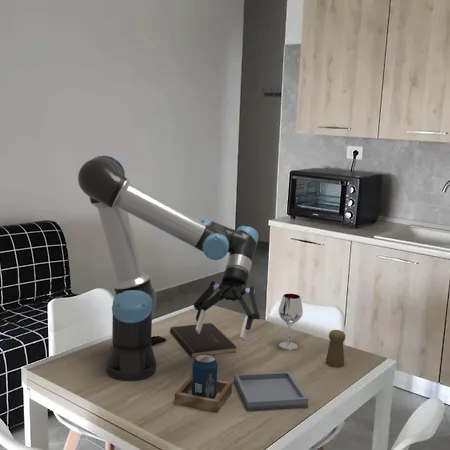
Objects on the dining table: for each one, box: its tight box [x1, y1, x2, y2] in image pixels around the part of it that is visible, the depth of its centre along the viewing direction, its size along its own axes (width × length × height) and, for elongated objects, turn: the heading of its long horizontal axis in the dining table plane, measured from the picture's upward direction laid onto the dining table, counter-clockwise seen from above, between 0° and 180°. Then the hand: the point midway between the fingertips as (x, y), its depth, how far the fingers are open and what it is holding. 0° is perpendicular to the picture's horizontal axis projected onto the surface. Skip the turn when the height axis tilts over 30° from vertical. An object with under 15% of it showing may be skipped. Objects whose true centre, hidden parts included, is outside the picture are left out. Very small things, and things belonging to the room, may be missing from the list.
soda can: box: [191, 354, 219, 399], centre depth 163 cm, size 7×7×12 cm
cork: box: [324, 329, 346, 368], centre depth 190 cm, size 6×6×11 cm
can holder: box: [174, 374, 233, 414], centre depth 164 cm, size 12×12×3 cm
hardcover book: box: [169, 322, 237, 358], centre depth 204 cm, size 16×23×2 cm
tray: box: [233, 371, 309, 412], centre depth 168 cm, size 17×17×2 cm
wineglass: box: [278, 293, 304, 351], centre depth 201 cm, size 8×8×18 cm
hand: (219, 335), depth 171 cm, fingers open, 13 cm apart
